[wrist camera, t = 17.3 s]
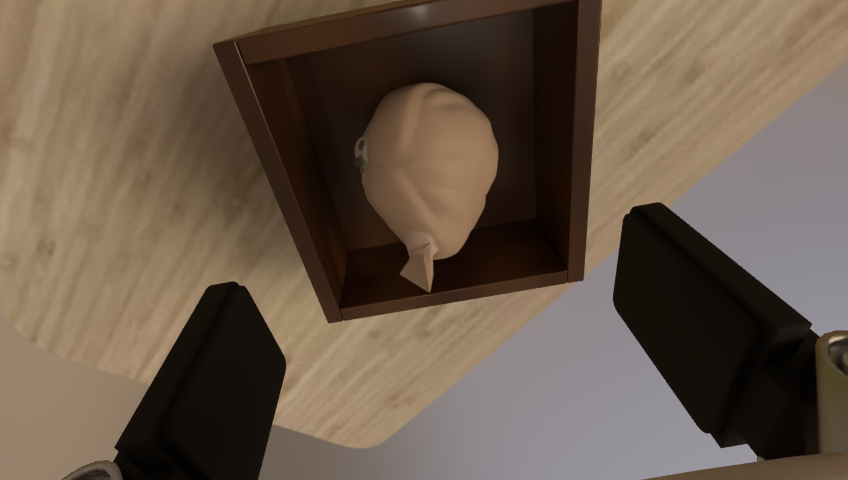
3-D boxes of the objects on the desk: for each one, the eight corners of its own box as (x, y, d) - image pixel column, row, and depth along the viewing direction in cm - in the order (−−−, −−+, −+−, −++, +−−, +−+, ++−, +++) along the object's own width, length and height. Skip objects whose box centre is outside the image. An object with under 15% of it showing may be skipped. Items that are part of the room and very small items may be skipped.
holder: (341, 258, 24) (327, 324, 19) (260, 28, 17) (210, 44, 13) (546, 222, 24) (584, 280, 19) (546, -29, 17) (605, -35, 12)
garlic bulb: (333, 153, 20) (302, 238, 13) (412, 43, 17) (423, 79, 11) (433, 222, 22) (450, 322, 16) (514, 134, 20) (575, 209, 13)
